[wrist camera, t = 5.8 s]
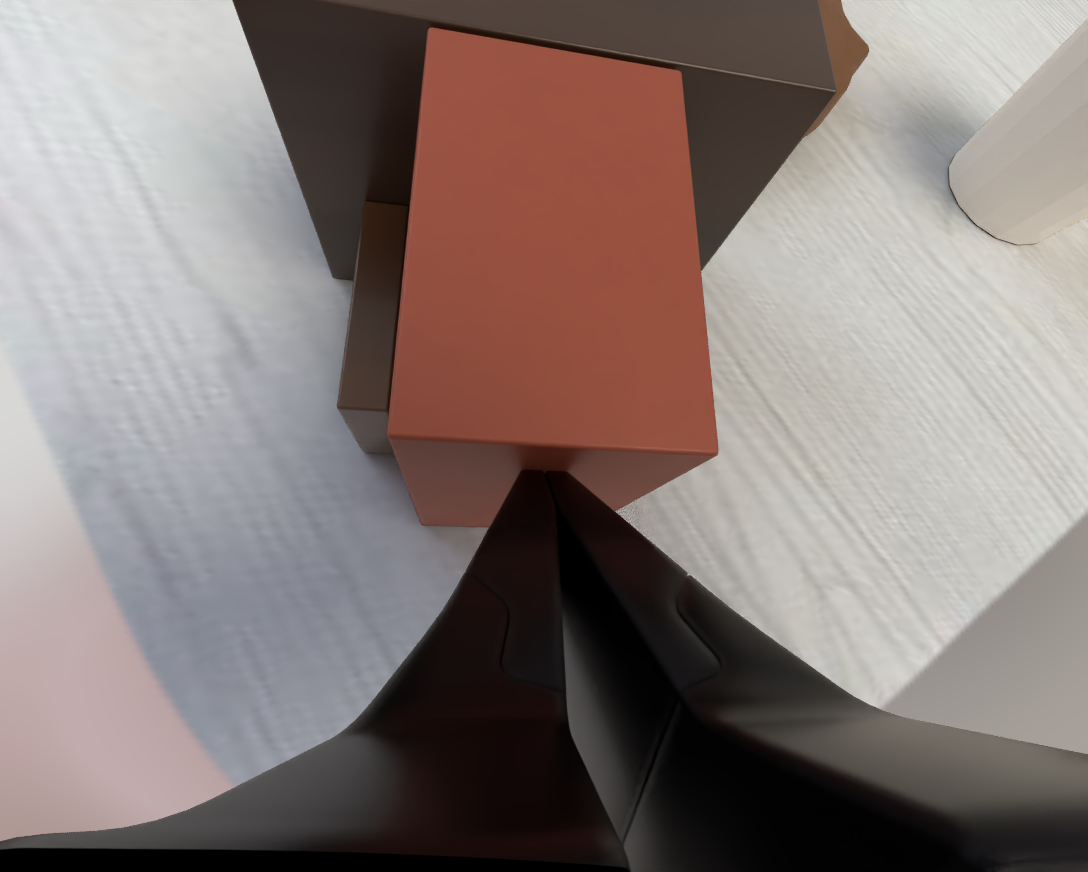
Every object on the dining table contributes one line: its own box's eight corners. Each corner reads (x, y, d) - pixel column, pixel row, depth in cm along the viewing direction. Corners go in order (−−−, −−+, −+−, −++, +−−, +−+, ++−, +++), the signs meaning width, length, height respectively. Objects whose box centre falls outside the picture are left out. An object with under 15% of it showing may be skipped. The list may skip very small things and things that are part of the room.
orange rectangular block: (583, 530, 17) (721, 455, 8) (420, 525, 16) (385, 437, 7) (578, 306, 19) (682, 68, 11) (438, 292, 18) (427, 24, 10)
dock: (682, 468, 18) (894, 348, 9) (307, 450, 16) (144, 278, 7) (664, 222, 21) (811, -39, 12) (346, 182, 19) (262, -158, 10)
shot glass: (1092, 239, 25) (1324, 108, 18) (991, 271, 23) (1207, 140, 16) (1011, 125, 26) (1198, -33, 20) (910, 148, 25) (1079, -18, 18)
